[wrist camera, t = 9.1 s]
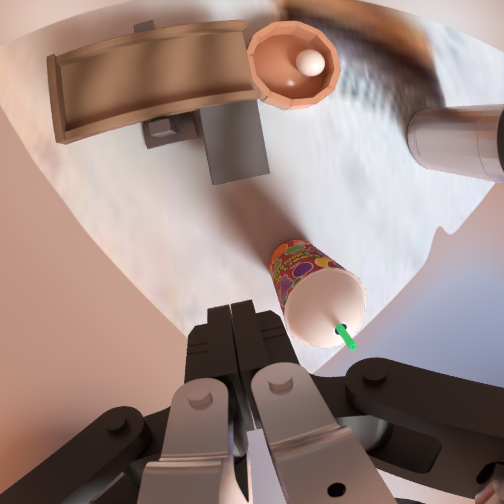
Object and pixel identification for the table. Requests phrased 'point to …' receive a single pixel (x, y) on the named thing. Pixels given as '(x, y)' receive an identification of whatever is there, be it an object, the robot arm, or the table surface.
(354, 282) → the smoothie
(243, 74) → the lever
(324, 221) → the table surface
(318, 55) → the ball
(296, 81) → the orange bowl
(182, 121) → the stand
